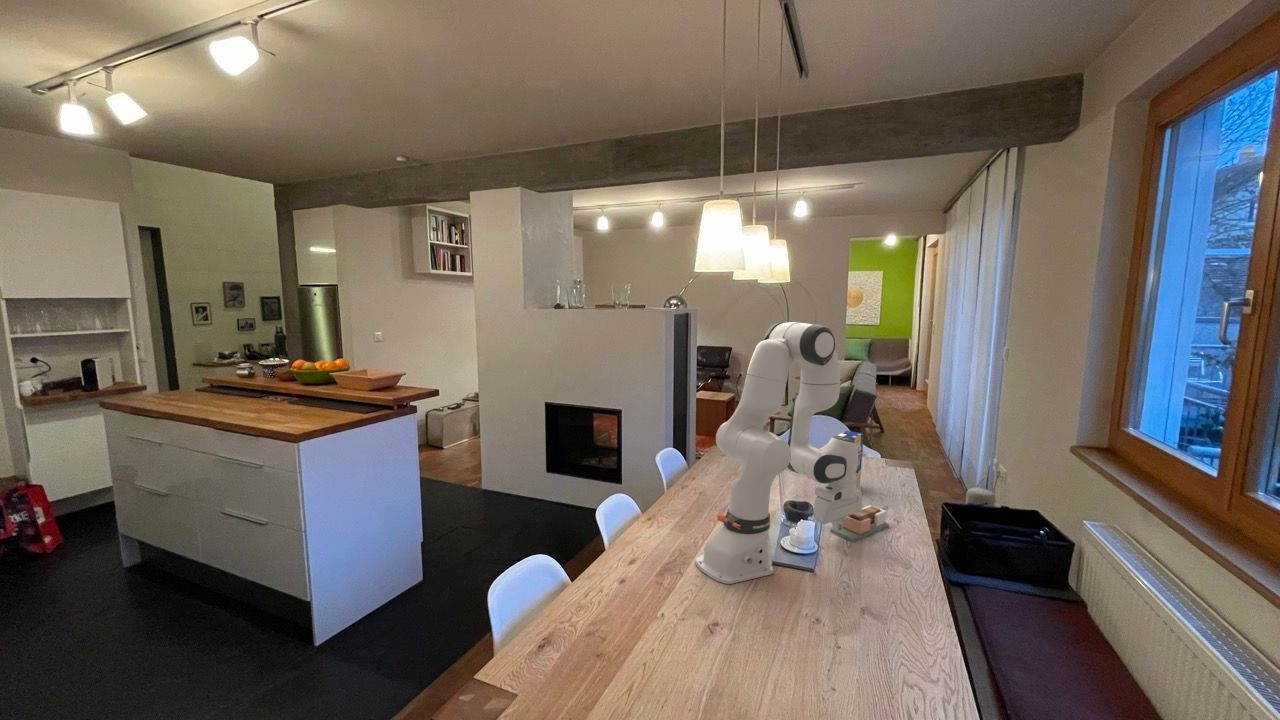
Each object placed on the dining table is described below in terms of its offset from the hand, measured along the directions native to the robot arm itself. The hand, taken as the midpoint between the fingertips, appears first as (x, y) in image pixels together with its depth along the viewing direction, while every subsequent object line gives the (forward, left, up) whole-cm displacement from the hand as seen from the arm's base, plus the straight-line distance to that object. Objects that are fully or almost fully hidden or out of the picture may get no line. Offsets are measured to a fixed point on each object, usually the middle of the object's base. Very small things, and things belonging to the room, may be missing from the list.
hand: (837, 530), depth 154 cm
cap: (+9, 0, -1) cm, 9 cm away
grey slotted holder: (+12, 0, -3) cm, 12 cm away
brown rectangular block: (+15, 0, -2) cm, 15 cm away
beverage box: (+42, +25, -3) cm, 49 cm away
